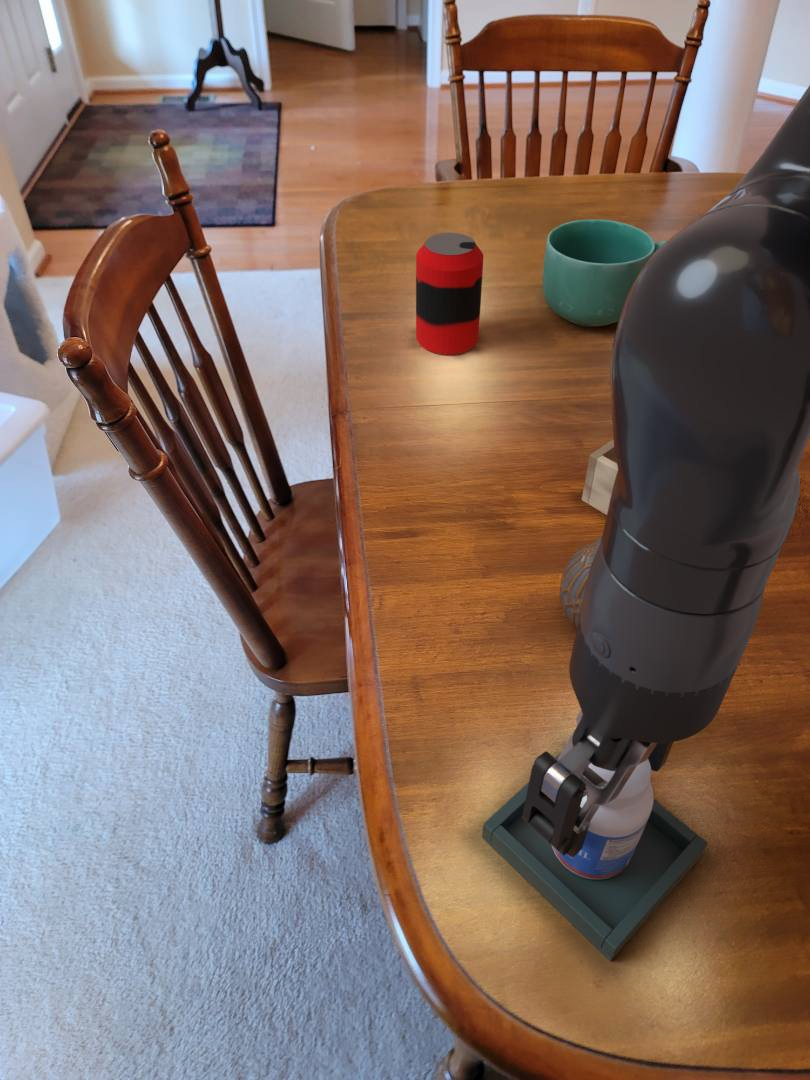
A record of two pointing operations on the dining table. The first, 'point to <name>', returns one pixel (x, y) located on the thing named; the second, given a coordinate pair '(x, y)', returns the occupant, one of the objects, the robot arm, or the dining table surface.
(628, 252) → the mug
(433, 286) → the soda can
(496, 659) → the dining table surface
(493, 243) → the dining table surface
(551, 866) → the tray
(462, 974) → the dining table surface
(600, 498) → the crate
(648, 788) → the pill bottle
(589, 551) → the vase
